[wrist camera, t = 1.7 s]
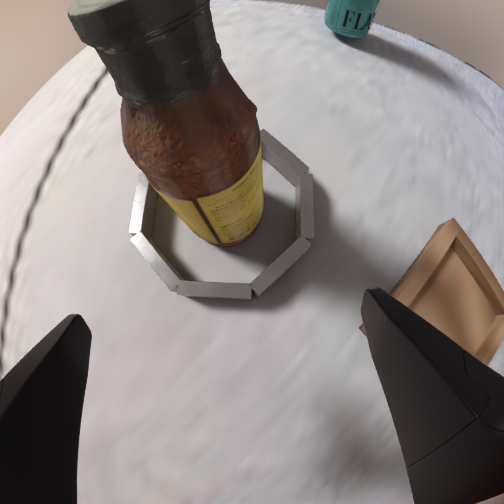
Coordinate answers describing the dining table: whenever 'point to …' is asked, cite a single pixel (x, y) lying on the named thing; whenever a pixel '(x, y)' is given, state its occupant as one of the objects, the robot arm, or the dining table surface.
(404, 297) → the walnut tray
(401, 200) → the dining table surface
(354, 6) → the beverage bottle
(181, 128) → the sauce bottle
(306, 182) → the metal collar
